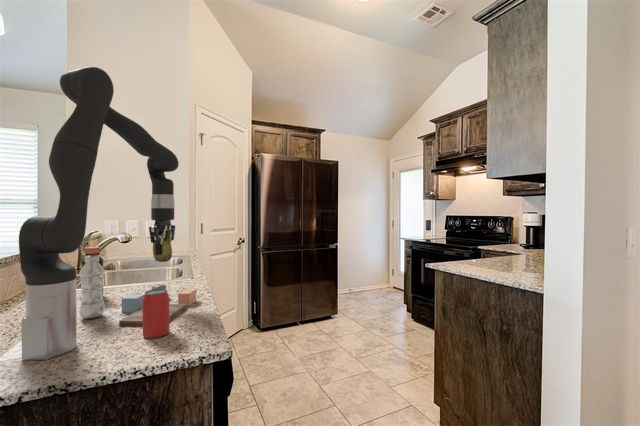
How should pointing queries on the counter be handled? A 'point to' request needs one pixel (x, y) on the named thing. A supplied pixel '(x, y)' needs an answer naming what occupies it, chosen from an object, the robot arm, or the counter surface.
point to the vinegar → (93, 252)
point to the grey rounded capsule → (159, 286)
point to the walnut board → (137, 317)
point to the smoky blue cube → (132, 303)
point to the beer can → (155, 313)
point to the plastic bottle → (92, 288)
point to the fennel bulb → (164, 248)
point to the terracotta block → (187, 297)
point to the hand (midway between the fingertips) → (162, 253)
